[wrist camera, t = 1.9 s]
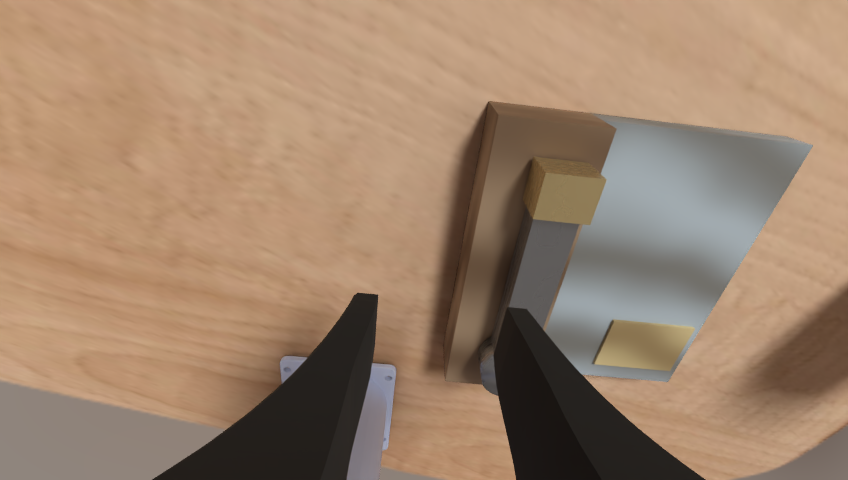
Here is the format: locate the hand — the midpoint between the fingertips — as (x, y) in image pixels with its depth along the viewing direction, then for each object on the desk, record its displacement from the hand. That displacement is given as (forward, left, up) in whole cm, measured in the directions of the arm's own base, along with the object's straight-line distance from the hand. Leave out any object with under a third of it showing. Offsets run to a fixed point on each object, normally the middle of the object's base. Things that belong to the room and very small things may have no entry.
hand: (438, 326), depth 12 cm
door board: (-3, -10, -10) cm, 15 cm away
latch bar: (-3, -5, -7) cm, 9 cm away
